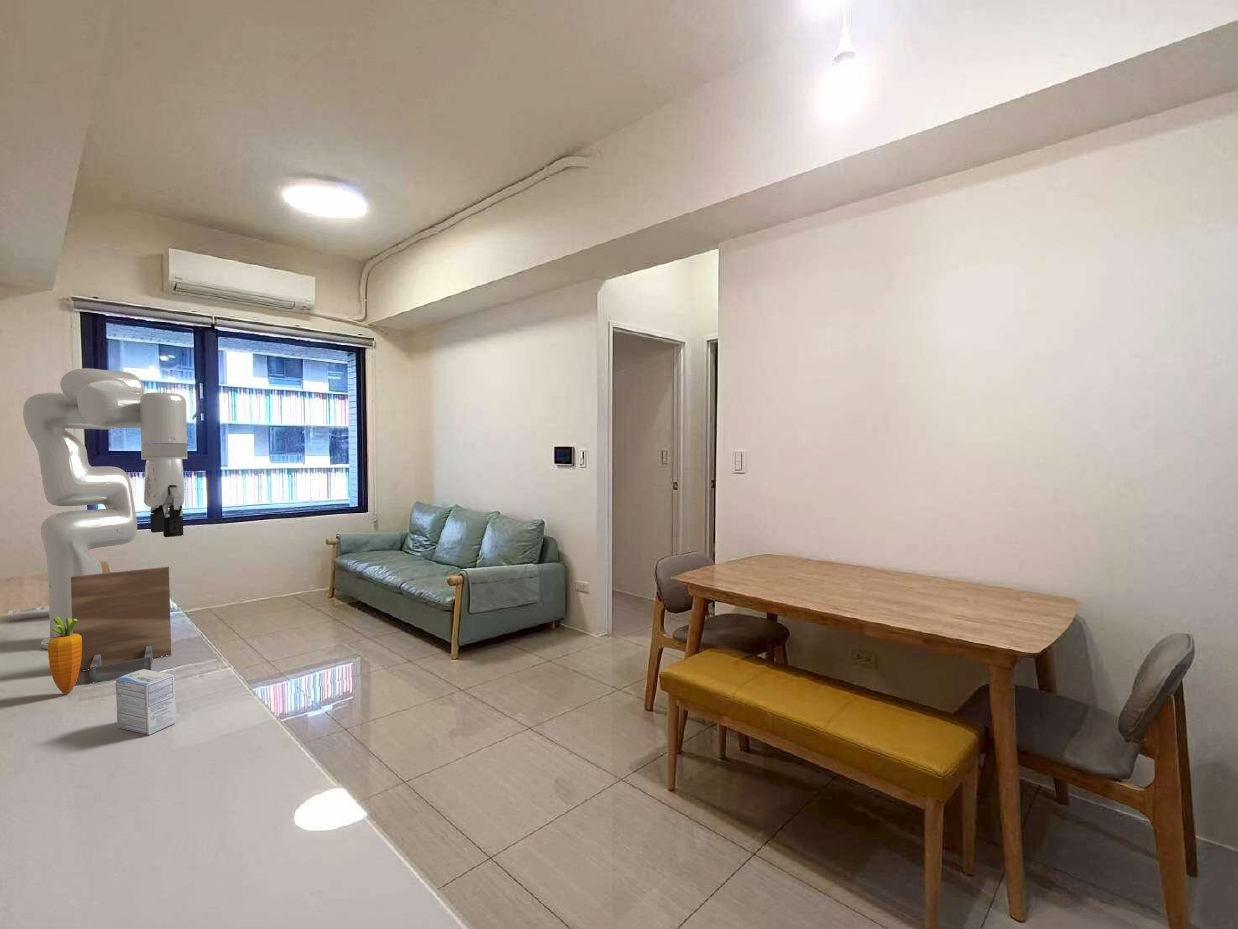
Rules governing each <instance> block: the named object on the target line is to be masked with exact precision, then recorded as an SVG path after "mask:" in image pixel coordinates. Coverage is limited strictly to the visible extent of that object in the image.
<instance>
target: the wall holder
mask: <svg viewBox="0 0 1238 929" xmlns="http://www.w3.org/2000/svg"><path fill="white" fill-rule="evenodd" d="M170 588H171V586H170V567H169V566H161V567H152V568H142V569H141V568H140V569H134V570H133V569H131V570H123V571H114V572H111V571H110V573H101V574H91V575H81V576H72V577H71V598H72V620H73V619H77V622H76V623H75V625H74V627H73V629H72V630H73V634H79V635H81V637H82V658H81V666H80V671H81V672H84V671H83V670H87V671H88V672H89V674H88V675H89V684H90V683H91V684H94V683H93V682H96V683H99V682H98V681H102V682H105V681H104V680H107V681H110V680H109V679H112V680H116V679H117V678H119V677H122V676H124V675H127V674H130V673H133V672H136V671H139V670H142V669H145V670H151V671H152V666H151V665H152V664H153V659H152V658H155V659H157V658H156V657H161V656H166V655H171V656H172V634H171V633H172V632H171V628H172V627H171V595H170V594H171V593H170V590H171V589H170ZM166 657H167V656H166ZM161 658H162V657H161ZM88 669H89V670H88Z"/></svg>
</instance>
